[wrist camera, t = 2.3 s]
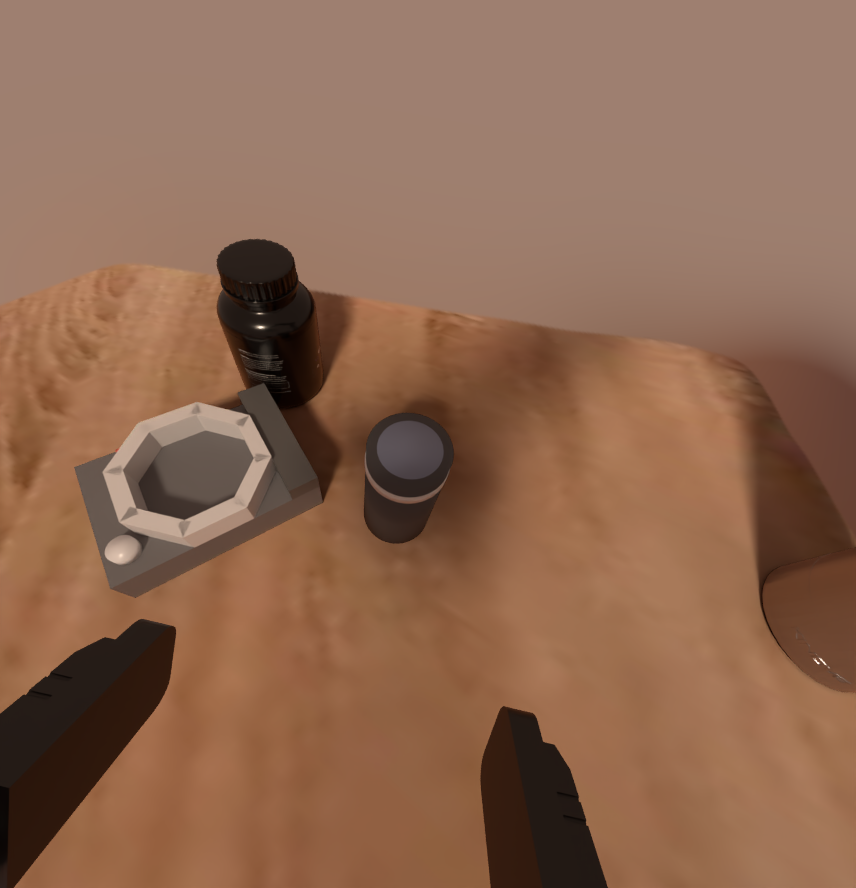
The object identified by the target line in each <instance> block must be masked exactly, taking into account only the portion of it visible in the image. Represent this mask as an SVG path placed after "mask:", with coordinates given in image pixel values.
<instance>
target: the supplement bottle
mask: <svg viewBox="0 0 856 888" xmlns="http://www.w3.org/2000/svg"><path fill="white" fill-rule="evenodd" d="M217 269H218V271H219V274H220V277H221V285H222V288H223V290H222V291H221V293H220V295H219V298H218V301H217V314H218V318H219V321H220V324H221V326H222V329H223V331H224V334H225V337H226V339H227V342H228V344H229V347H230V350H231V352H232V355H233V357H234V360H235V362H236V365H237V368H238V370H239V373H240V375H241V378H242V380H243V383H244V385H245V387H246V389H249V388H252V387H255V386H257V385H260V384H263V383H264V384H265V386H266V387H267V389H268V391H269V393H270V394H271V396H272V398H273V400H274V401H275V403H276V405H277V407H278V408H287V407H294V406H297V405H300V404H303V403H305V402H307V401H308V400H310V399H311V398H312V397H313V396H314V395H315V394H316V393H317V392H318V391H319V389H320V387H321V385H322V382H323V364H322V356H321V348H320V339H319V331H318V322H317V314H316V307H315V302H314V299H313V297H312V295H311V293H310V292H309V290H308V289H307V288H306V287H305V286H304V285H303V284H302V283H301V282H300V281H299V280H298V275H297V272H296V268H295V262H294V258H293V256H292V254H291V252H289V251H288V249H287V248H284V247H283V246H282V245H279V244H278V243H275V242H272V241H267V240H260V239H248V240H242V241H239V242H235V243H233V244H230V245H229V246H228V247H225V248H224V250H222V251H221V252H220V254H219V255H218V259H217Z"/></svg>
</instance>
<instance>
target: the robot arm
mask: <svg viewBox="0 0 856 888" xmlns="http://www.w3.org/2000/svg"><path fill="white" fill-rule="evenodd" d="M762 597H763V607H764V611H765V615H766V618H767V621H768V623H769V626H770V628H771V630H772V632H773V634H774V636H775V638H776V639H777V641H778V643H779V644H780V646H781V647H782V649H783V650H784V651H785V652H786V654H787V655H788V656H789V657H790V659H791V660H792V661H793V662H794V663H795V664H796V665H797V666H798V667H799V668H800V669H801V670H802V671H803V672H805V673H806V674H807V675H809V676H810V677H811V678H813V679H814V680H816V681H817V682H819V683H821V684H823V685H825V686H827V687H829V688H831V689H834V690H837V691H841V692H853V693H856V547H854V548H850V549H847V550H843V551H839V552H835V553H831V554H826V555H823V556H819V557H815V558H811V559H807V560H804V561H800V562H796V563H792V564H788V565H785V566H781V567H779V568H777V569H775V570H773V571H772V572H771V573H770V574H769V575H768V576H767V578H766V581H765V583H764V586H763V594H762ZM175 637H176V629H175V627H174V626H170V625H166V624H162V623H158V622H153V621H149V620H145V619H140V620H138V621H136V622H135V623H134V624H132V625H131V626H130V627H129V628H128V629H127V630H126V631H125V632H123V633H122V634H121V635H120V636H119V637H118V638H117V639H116V640H114V639H110V638H106V637H104V638H102V639H100V640H98V641H96V642H94V643H92V644H90V645H88V646H86V647H84V648H82V649H80V650H78V651H76V652H75V653H73V654H72V655H71V656H70V657H69V658H67V659H66V660H65V661H64V662H63V663H61V664H60V665H59V666H58V667H56V668H55V669H54V670H53V671H52V672H51V673H50V675H49V676H48V677H44V678H43V679H42V680H41V681H39V682H38V683H37V684H36V685H35V686H33V687H32V688H31V689H30V690H29V692H28V693H27V694H26V695H22V696H21V697H20V698H19V699H18V700H16V701H15V702H14V703H13V704H12V705H10V706H9V707H8V708H7V709H5V710H4V711H3V712H2V713H1V714H0V888H14V887H15V885H16V884H17V883H18V881H19V880H20V879H21V878H22V876H23V875H24V874H25V873H26V871H27V870H28V869H29V868H30V866H31V865H32V864H33V863H34V861H35V860H36V859H37V858H38V856H39V855H40V854H41V853H42V851H43V850H44V849H45V847H46V846H47V845H48V844H49V842H50V841H51V840H52V839H53V837H54V836H55V835H56V834H57V832H58V831H59V830H60V829H61V827H62V826H63V825H64V824H65V822H66V821H67V820H68V819H69V817H70V816H71V815H72V813H73V812H74V811H75V810H76V808H77V807H78V806H79V805H80V803H81V802H82V801H83V800H84V798H85V797H86V796H87V795H88V793H89V792H90V791H91V790H92V788H93V787H94V786H95V785H96V783H97V782H98V781H99V779H100V778H101V777H102V776H103V774H104V773H105V772H106V771H107V769H108V768H109V767H110V766H111V764H112V763H113V762H114V761H115V759H116V758H117V757H118V756H119V754H120V753H121V752H122V751H123V749H124V748H125V747H126V745H127V744H128V743H129V742H130V740H131V739H132V738H133V737H134V735H135V734H136V733H137V732H138V730H139V729H140V728H141V727H142V725H143V724H144V723H145V722H146V720H147V719H148V718H149V717H150V715H151V714H152V713H153V711H154V710H155V709H156V707H157V706H158V704H159V703H160V701H161V699H162V698H163V696H164V694H165V691H166V689H167V687H168V684H169V680H170V675H171V668H172V660H173V652H174V645H175ZM481 794H482V804H483V814H484V824H485V834H486V844H487V854H488V864H489V874H490V884H491V888H608V887H607V884H606V881H605V878H604V874H603V871H602V868H601V865H600V862H599V859H598V856H597V852H596V849H595V846H594V843H593V840H592V837H591V834H590V830H589V827H588V826H586V818H585V815H584V812H583V808H582V805H581V802H579V800H578V798H579V796H578V793H577V790H576V786H575V783H574V780H573V777H572V774H571V771H570V769H569V767H568V765H567V764H566V762H565V761H564V759H563V758H562V756H561V754H560V753H559V751H558V750H557V748H556V746H555V745H553V744H549V743H545V742H543V740H542V736H541V732H540V729H539V725H538V721H537V718H536V716H535V715H534V714H533V713H530V712H526V711H521V710H517V709H513V708H509V707H505V706H503V707H502V708H501V709H500V711H499V713H498V716H497V719H496V722H495V724H494V727H493V730H492V732H491V735H490V738H489V741H488V743H487V746H486V749H485V751H484V755H483V759H482V765H481Z"/></svg>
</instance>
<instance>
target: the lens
mask: <svg viewBox="0 0 856 888" xmlns="http://www.w3.org/2000/svg"><path fill="white" fill-rule="evenodd" d="M453 456H454V450H453V445H452V442H451V439H450V437H449V435H448V434H447V432H446V431H445V430H444V429H443V427H442V426H440V425H439V424H438V423H437V422H435V421H434V420H432V419H430V418H428V417H426V416H423V415H420V414H415V413H399V414H395V415H392V416H389V417H387V418H385V419H383V420H382V421H380V422H379V423H378V424H377V425H376V426H375V427H374V428H373V429H372V431H371V432H370V434H369V437H368V440H367V444H366V452H365V497H364V518H365V522H366V524H367V526H368V528H369V530H370V531H371V532H372V533H373V534H374V535H375V536H376V537H377V538H379V539H381V540H383V541H385V542H389V543H404V542H407V541H410V540H412V539H414V538H415V537H417V536H418V535H419V534H420V533H421V532H422V530H423V529H424V527H425V525H426V522H427V520H428V518H429V516H430V513H431V511H432V509H433V506H434V504H435V502H436V500H437V497H438V495H439V493H440V490H441V488H442V487H443V485H444V483H445V481H446V479H447V477H448V474H449V471H450V468H451V465H452V462H453Z"/></svg>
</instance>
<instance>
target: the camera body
mask: <svg viewBox="0 0 856 888" xmlns="http://www.w3.org/2000/svg"><path fill="white" fill-rule="evenodd" d="M238 396H239V398H240V400H241V403H242V405H240V406H238V407H235V408H232V409H230V410H227V409H223V408H219V407H215V406H211V405H207V404H203V403H199V402H196V403H193V404H190V405H187V406H185V407H182V408H179V409H176V410H173V411H170V412H168V413H165V414H162V415H159V416H156V417H154V418H151V419H148V420H145V421H142V422H139V423H138V424H137V425H136V426H135V428H134V429H133V430H132V432H131V433H130V435H129V436H128V437H127V439H126V440H125V442H124V443H123V444H122V446H121V447H120V448H119V449H116V452H114V453H111V454H109V455H106V456H103V457H101V458H98V459H95V460H93V461H90V462H87V463H84V464H82V465H79V466H76V467H74V468H75V472H76V475H77V478H78V482H79V485H80V488H81V492H82V495H83V498H84V502H85V505H86V508H87V512H88V515H89V519H90V522H91V525H92V529H93V532H94V535H95V539H96V542H97V545H98V549H99V552H100V556H101V559H102V562H103V566H104V569H105V572H106V576H107V579H108V582H109V586H110V589H112V590H115V591H118V592H121V593H124V594H126V595H129V596H132V597H135V598H136V597H138V596H140V595H142V594H144V593H146V592H148V591H149V590H151V589H153V588H155V587H157V586H159V585H161V584H163V583H165V582H167V581H169V580H171V579H173V578H175V577H177V576H179V575H181V574H183V573H185V572H187V571H189V570H191V569H193V568H195V567H197V566H199V565H201V564H203V563H205V562H207V561H209V560H211V559H213V558H215V557H216V556H218V555H220V554H222V553H224V552H226V551H228V550H230V549H232V548H234V547H236V546H238V545H240V544H242V543H244V542H246V541H248V540H250V539H252V538H254V537H256V536H258V535H260V534H262V533H264V532H266V531H268V530H270V529H272V528H274V527H276V526H278V525H280V524H281V523H283V522H285V521H287V520H289V519H291V518H293V517H295V516H297V515H299V514H301V513H303V512H305V511H307V510H309V509H311V508H313V507H315V506H317V505H319V504H321V503H323V501H322V496H321V491H320V486H319V481H318V477H317V475H316V473H315V472H314V470H313V468H312V466H311V465H310V463H309V461H308V459H307V458H306V456H305V454H304V452H303V451H302V449H301V447H300V445H299V444H298V442H297V440H296V438H295V437H294V435H293V433H292V431H291V430H290V428H289V426H288V424H287V422H286V421H285V419H284V417H283V415H282V414H281V412H280V410H279V408H278V407H277V405H276V403H275V401H274V400H273V398H272V396H271V394H270V393H269V391H268V389H267V387H266V386H265V384H264V383H263V384H260V385H257V386H255V387H252V388H249V389H246V390H244V391H241V392H238Z"/></svg>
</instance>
